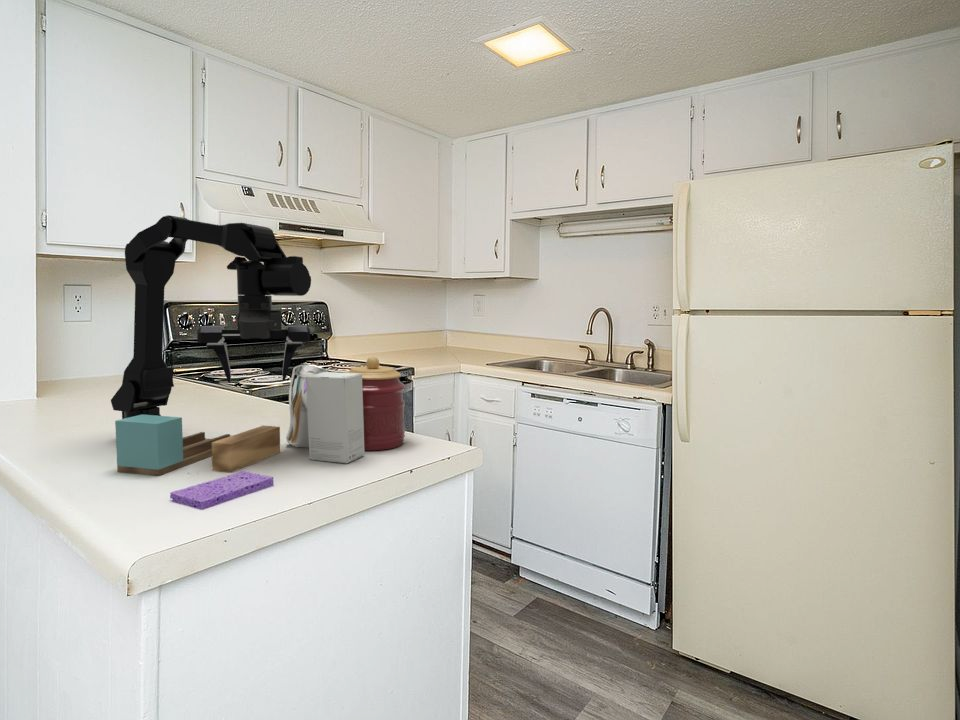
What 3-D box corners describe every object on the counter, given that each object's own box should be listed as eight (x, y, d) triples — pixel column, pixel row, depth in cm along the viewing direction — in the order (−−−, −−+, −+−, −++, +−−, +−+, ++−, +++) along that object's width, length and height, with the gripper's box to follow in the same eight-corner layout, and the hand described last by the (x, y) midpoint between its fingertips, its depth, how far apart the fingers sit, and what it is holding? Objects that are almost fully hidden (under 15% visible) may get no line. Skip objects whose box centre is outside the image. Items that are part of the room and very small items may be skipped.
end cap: (117, 465, 95) (115, 420, 94) (143, 457, 100) (142, 414, 99) (158, 469, 93) (156, 424, 92) (183, 460, 98) (181, 417, 97)
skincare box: (365, 456, 107) (365, 373, 106) (345, 465, 101) (345, 377, 100) (326, 451, 110) (326, 370, 108) (305, 460, 104) (304, 374, 102)
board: (117, 471, 95) (116, 456, 94) (201, 443, 114) (201, 430, 114) (158, 475, 93) (158, 460, 93) (237, 446, 112) (236, 433, 112)
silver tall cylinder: (308, 452, 111) (318, 383, 106) (276, 441, 112) (284, 372, 107) (326, 437, 117) (336, 371, 112) (295, 427, 118) (303, 360, 113)
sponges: (274, 488, 90) (274, 476, 89) (201, 513, 79) (200, 500, 78) (243, 480, 93) (243, 469, 93) (169, 504, 82) (169, 491, 82)
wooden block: (212, 471, 97) (211, 442, 96) (263, 451, 110) (263, 425, 110) (230, 473, 96) (230, 444, 95) (280, 452, 109) (279, 426, 109)
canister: (334, 438, 120) (334, 354, 118) (395, 434, 125) (396, 353, 123) (346, 454, 108) (345, 361, 106) (412, 448, 113) (413, 359, 112)
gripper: (192, 294, 93) (195, 390, 95) (312, 296, 99) (313, 385, 101) (199, 294, 103) (202, 381, 105) (307, 296, 110) (308, 377, 111)
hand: (257, 381), depth 105 cm, fingers open, 9 cm apart
